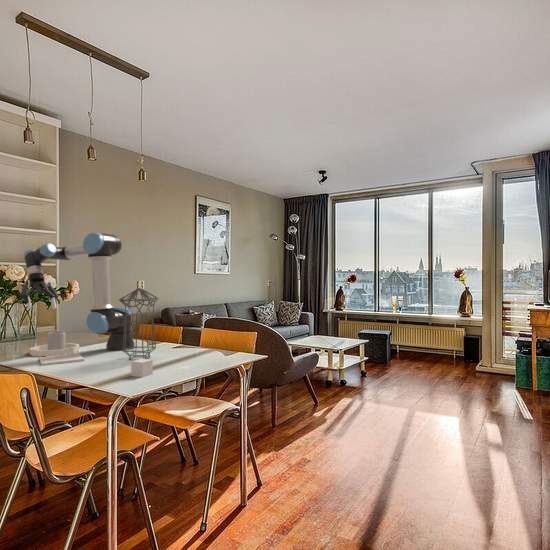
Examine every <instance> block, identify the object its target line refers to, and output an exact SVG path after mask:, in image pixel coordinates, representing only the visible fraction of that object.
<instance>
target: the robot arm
mask: <svg viewBox="0 0 550 550" xmlns="http://www.w3.org/2000/svg"><path fill="white" fill-rule="evenodd" d="M122 246H123V244H122V241H121V239H120V238H119V237H118V236H117V235H115V234H110V233H103V232H90V233H88V234H87V235H86V236H85V237H84V239H83V241H82V243H81V244H74V245H68V246H63V247H61V246H55V244H52V243H51V242H47V243H44V244H42V245H41V246H40V247H38V248H37V249H33V248H32V249H29V250H26V251H25V252H24V255H23V256H24V261H25V262H24V263H25V266H26V271H27V276H28V280H26V281H24V282H23V288H22V290H21V293H20V294H19V297H20V298H22V299H23V300H24V303H25V304H26V306H27V310H30V309H32V303H31V302H32V301H31V298H30V295H31V293H32V292H33V291H41V292H44V293H45V294H46V295H47V296H48V297H49V298H50V302H51V307H52V311H53V310H56V309H57V303H58V302H57V298H59V297H60V295H59V294H58V293H57V291H56V290H55V289H54V287H53V285H52V283H51V282H50V281H49V282H45V276H44V271H43V267H42V263H44V262H45V261H47V260H54V261H55V260H57V261H58V260H60V261H70V260H73V259H77V258H85V257H88V259H89V261H91V272H92V273H91V277H92V298H93V301H92V302H93V306H92V307H91V308H90V313H88V315H87V317H86V321H85V322H86V326H87V328H88V331H89V330H90V332H92V333H93V334H98V335H99V334H100V335H101V334H105V333H109V336H108V339H107V342H106V346H105V350H107V351H122V348H123V336H124V323H125V307H115V306H113V305H112V302H111V284H110V282H111V281H110V260H111V259H112V257H113V256H114V255H117V254H119V253H120V252H121V250H122ZM28 287H30V289H29V290H28ZM27 290H28V291H27ZM128 308H129V307H126V312H127V310H128ZM130 309H131V308H130ZM130 309H129V310H128V312H127V314H126V315H129V314H132V312H131V311H132V310H131V311H130ZM131 332H132V316H127V322H126V349H127V348H130V347H131ZM133 338H134V337H132V347H136V345H135V341H134V339H133ZM130 349H131V348H130ZM130 349H129V350H130ZM124 350H125V337H124ZM131 350H132V349H131Z"/></svg>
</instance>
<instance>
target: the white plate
mask: <svg viewBox="0 0 550 550" xmlns="http://www.w3.org/2000/svg"><path fill="white" fill-rule="evenodd" d="M65 347H66V349H58V350H48V344H41V345H36V346H33V347H30V348H29V356H30V355H32V356H33V357H36V356H56V355H65V354H70V353H72V354H75V353H74V352H76V353H78V352H77V351H79V352H80V344H79V343H74V342H73V343H72V342H69V343H66V342H65Z"/></svg>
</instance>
